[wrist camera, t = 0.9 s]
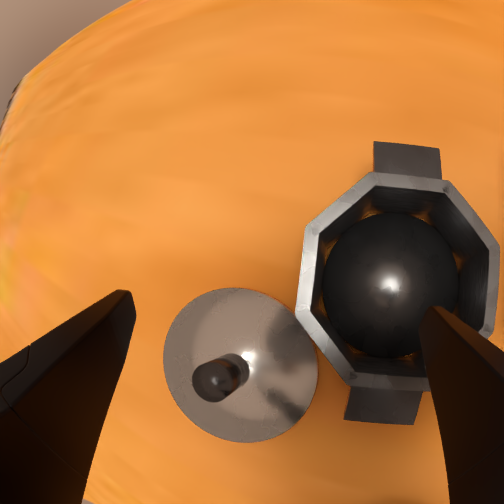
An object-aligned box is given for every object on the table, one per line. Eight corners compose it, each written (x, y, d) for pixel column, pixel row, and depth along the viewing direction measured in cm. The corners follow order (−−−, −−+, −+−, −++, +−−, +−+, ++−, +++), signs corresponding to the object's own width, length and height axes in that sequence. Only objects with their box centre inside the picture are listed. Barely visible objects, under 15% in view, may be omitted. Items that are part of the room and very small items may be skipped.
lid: (302, 451, 21) (289, 483, 16) (166, 412, 25) (132, 429, 20) (330, 299, 22) (325, 300, 17) (179, 278, 26) (142, 273, 21)
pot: (444, 398, 17) (469, 427, 12) (296, 385, 21) (278, 412, 16) (464, 185, 19) (492, 153, 13) (322, 170, 23) (313, 133, 17)
